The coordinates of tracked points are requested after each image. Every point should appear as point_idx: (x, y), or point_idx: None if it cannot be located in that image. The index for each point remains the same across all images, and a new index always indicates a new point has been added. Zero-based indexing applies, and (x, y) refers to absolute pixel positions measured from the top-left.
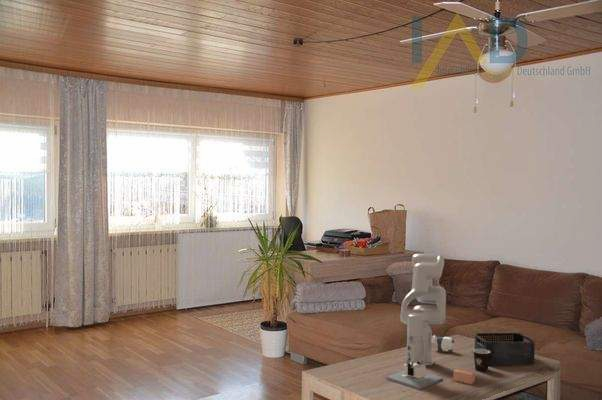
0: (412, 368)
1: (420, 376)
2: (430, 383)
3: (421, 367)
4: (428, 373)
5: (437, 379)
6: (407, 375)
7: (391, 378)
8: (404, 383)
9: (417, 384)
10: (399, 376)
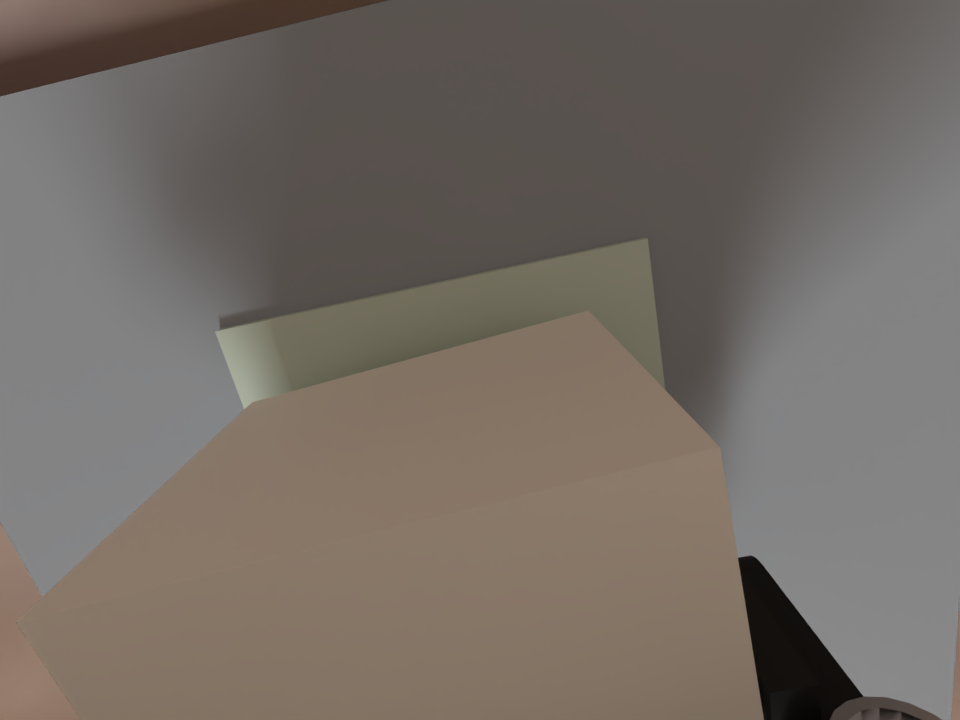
0: (816, 690)
1: (519, 342)
2: (409, 5)
3: (447, 524)
4: (24, 550)
5: (38, 94)
6: None
7: (951, 689)
8: (950, 381)
9: (861, 80)
10: None
